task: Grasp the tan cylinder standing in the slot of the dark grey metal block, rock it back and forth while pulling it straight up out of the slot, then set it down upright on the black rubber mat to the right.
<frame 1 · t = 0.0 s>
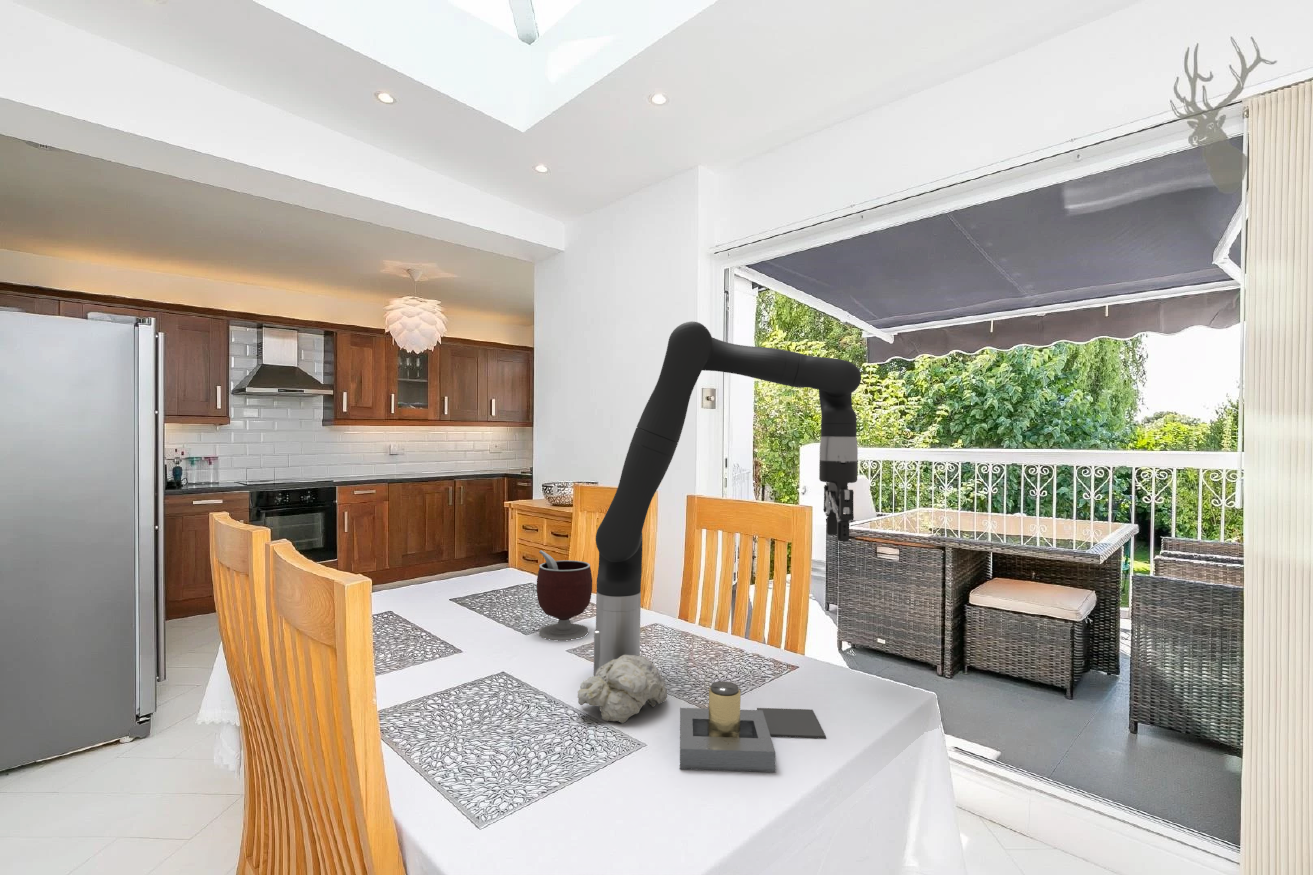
hand: (837, 537, 125), 29 cm above the table, tool pointing down, fingers open, 8 cm apart
tan cylinder: (723, 747, 97), resting in block
block: (723, 746, 97), on the table
mate gourd: (561, 633, 154), on the table
mineral: (624, 712, 109), on the table
mat: (789, 723, 105), on the table
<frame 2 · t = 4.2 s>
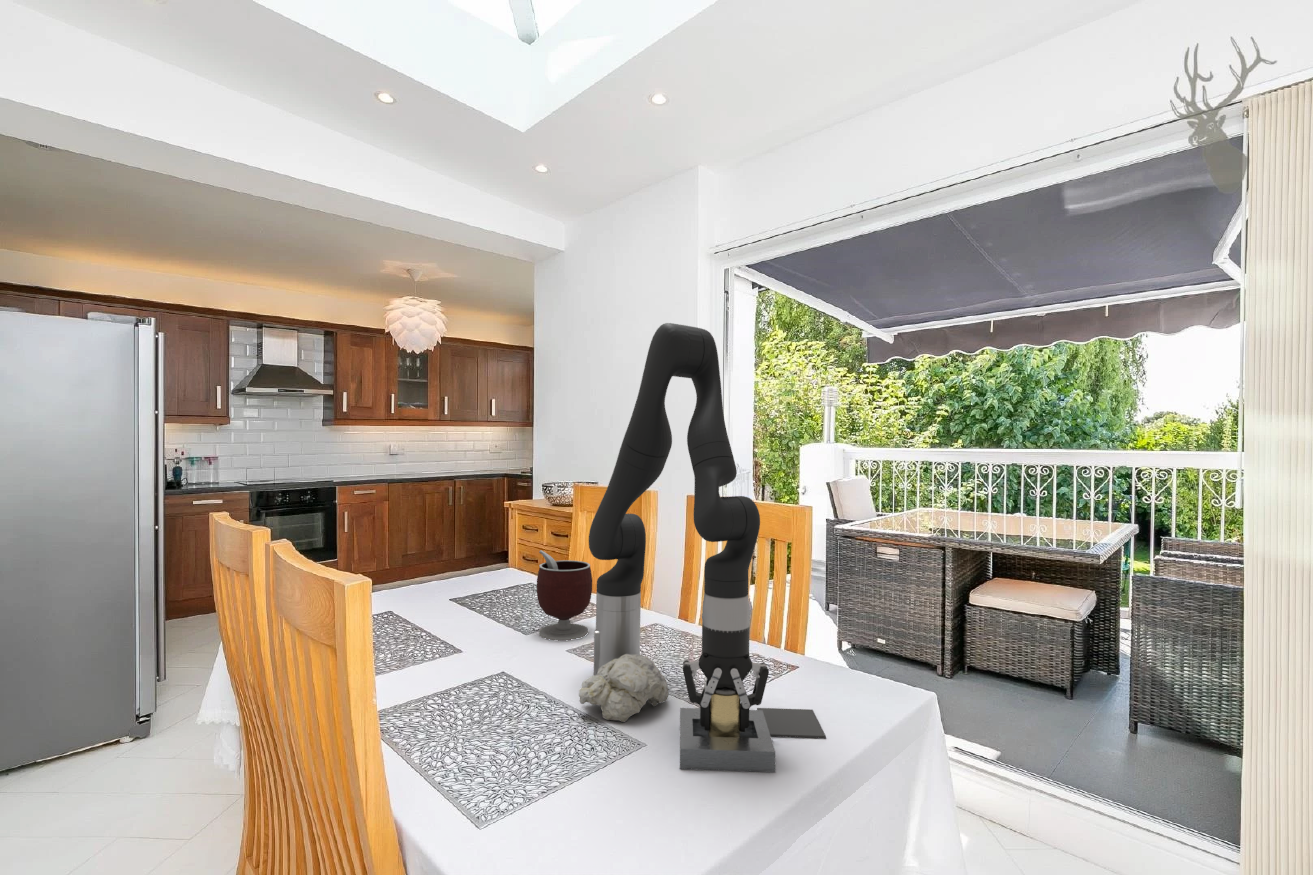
hand: (724, 728, 97), 3 cm above the table, tool pointing down, fingers closed on tan cylinder, 5 cm apart
tan cylinder: (724, 746, 97), resting in block, touching gripper
everything else where it was.
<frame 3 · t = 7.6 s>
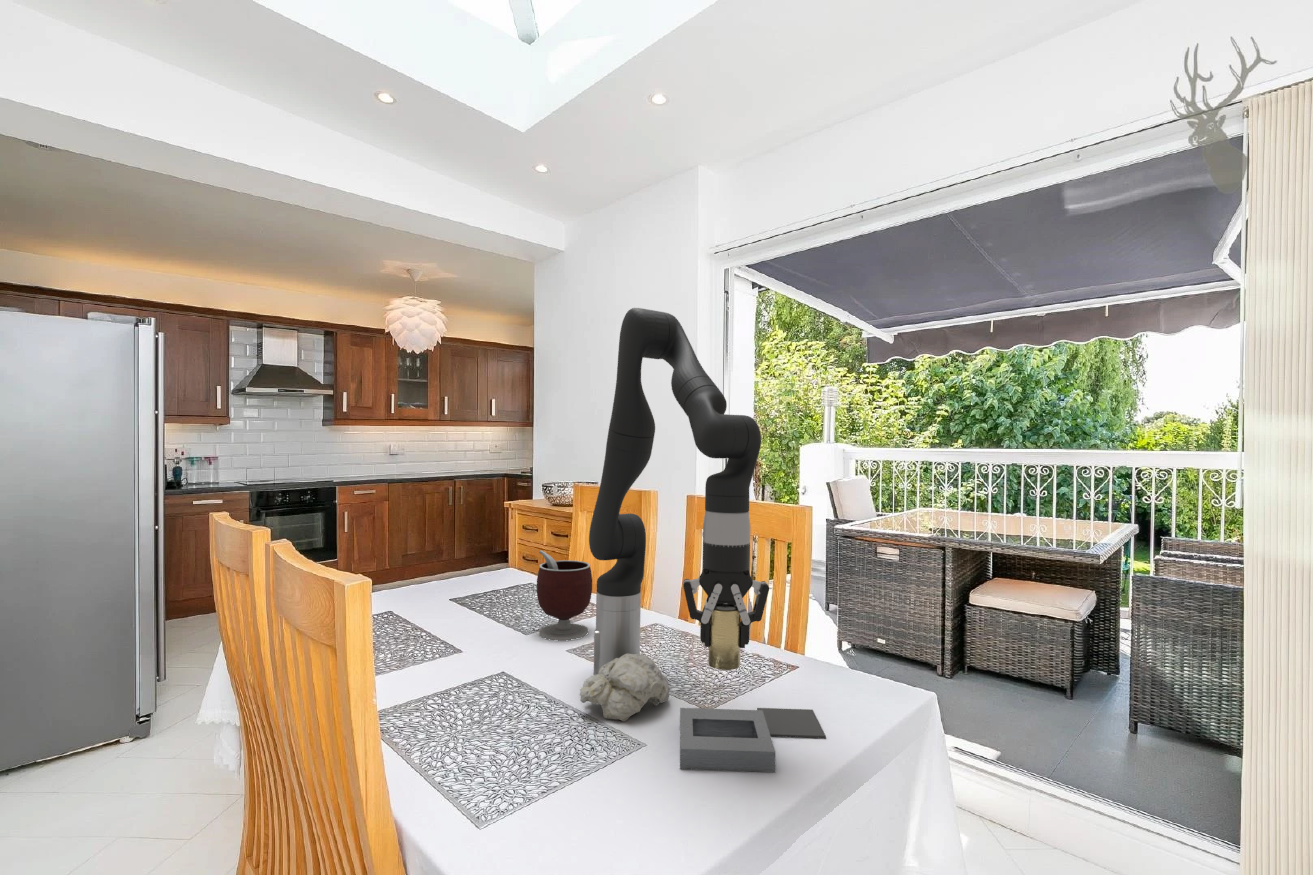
hand: (724, 645, 97), 16 cm above the table, tool pointing down, fingers closed on tan cylinder, 5 cm apart
tan cylinder: (724, 664, 97), point 13 cm above the table, touching gripper
everything else where it was.
when the fingers open (4 cm above the table, at t = 11.5 s): tan cylinder stays where it is, resting on mat.
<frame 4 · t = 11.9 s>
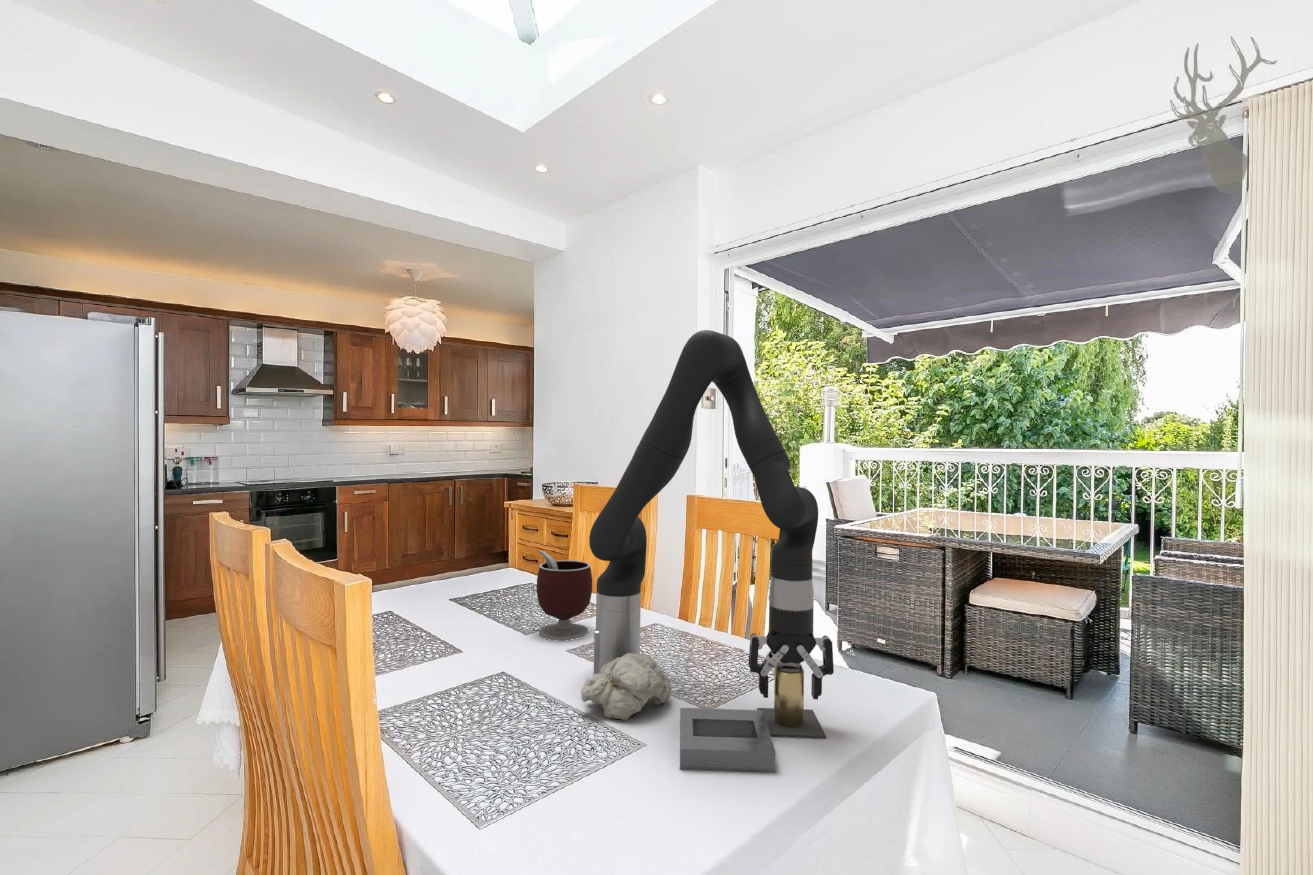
hand: (790, 696, 105), 5 cm above the table, tool pointing down, fingers open, 8 cm apart
tan cylinder: (788, 720, 105), resting on mat
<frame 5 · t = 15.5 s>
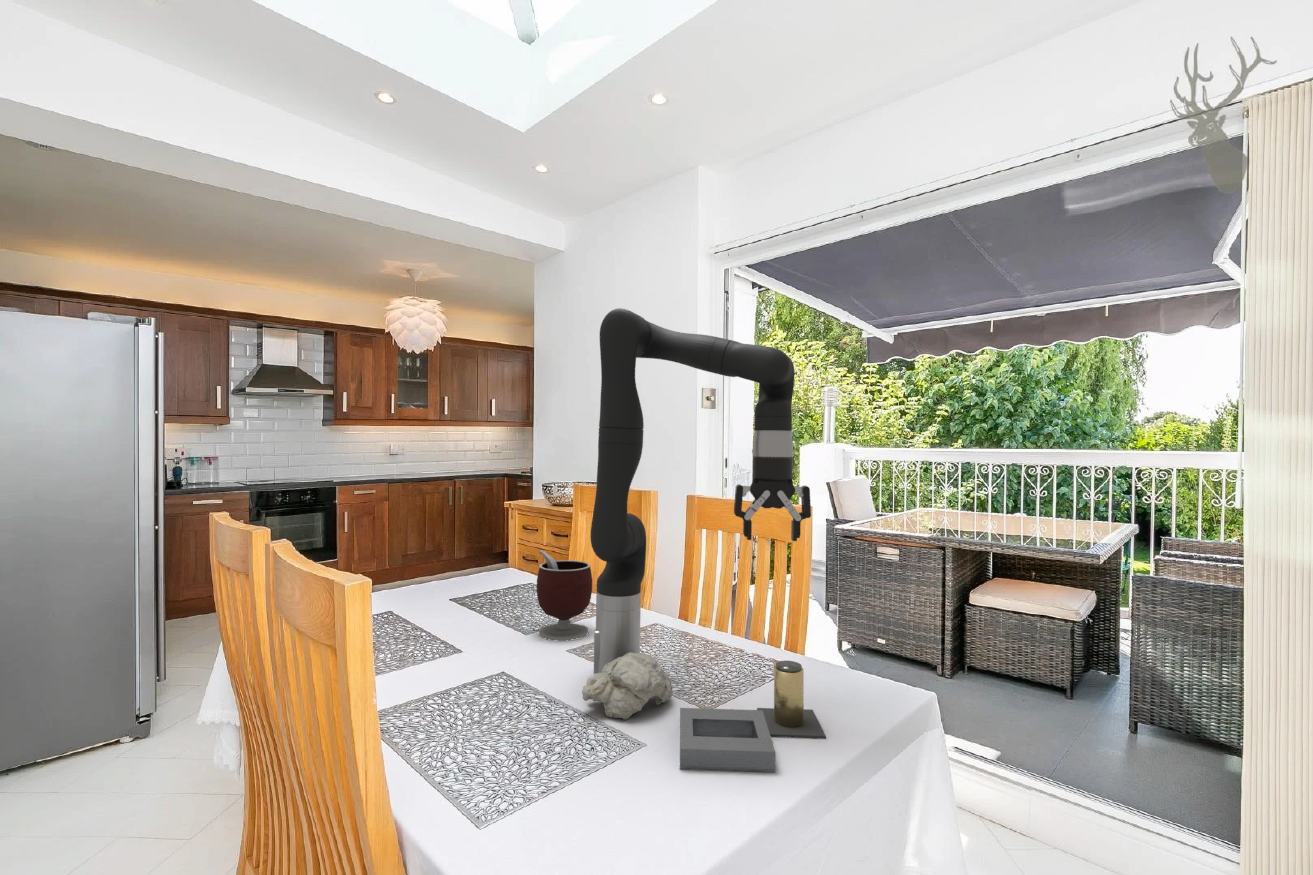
hand: (771, 540, 116), 30 cm above the table, tool pointing down, fingers open, 8 cm apart
at the end: tan cylinder 0.2 cm from the mat (horizontally); tan cylinder tilted 1°; the gripper is holding nothing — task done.
